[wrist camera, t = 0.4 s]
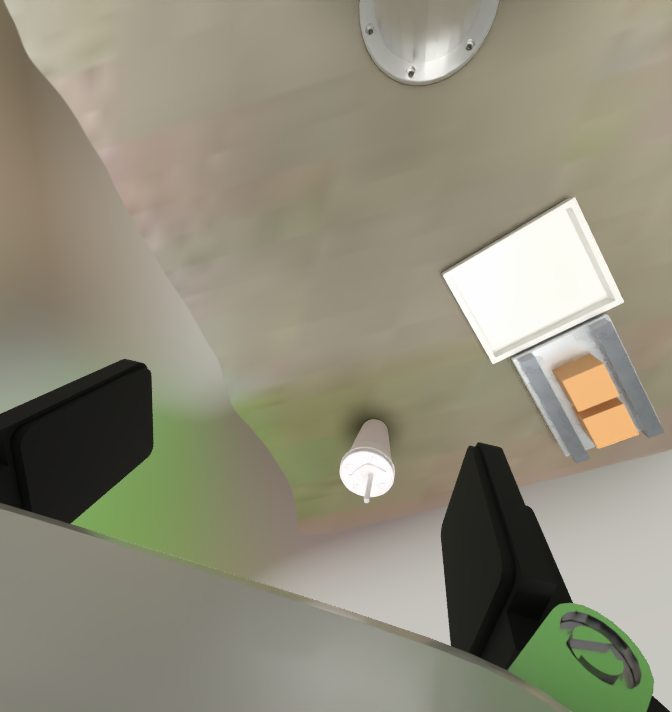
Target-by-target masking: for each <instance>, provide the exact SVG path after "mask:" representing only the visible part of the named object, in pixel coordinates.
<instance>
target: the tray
mask: <svg viewBox="0 0 672 712" xmlns="http://www.w3.org/2000/svg"><path fill="white" fill-rule="evenodd" d="M441 274H442V275H443V277H444V279H445V281H446V282H447V284H448V286H449V288H450V289H451V291H452V293H453V295H454V296H455V298H456V300H457V302H458V303H459V305H460V307H461V309H462V311H463V312H464V314H465V316H466V318H467V319H468V321H469V323H470V325H471V326H472V328H473V330H474V332H475V333H476V335H477V337H478V339H479V340H480V342H481V344H482V346H483V348H484V349H485V351H486V353H487V355H488V356H489V358H490V360H491V362H492V363H493V364H495V363H497V362H499V361H501V360H503V359H505V358H507V357H509V356H511V355H514V354H516V353H518V352H520V351H522V350H524V349H526V348H528V347H531V346H533V345H535V344H537V343H539V342H541V341H543V340H545V339H547V338H550V337H552V336H554V335H556V334H558V333H560V332H562V331H564V330H566V329H569V328H571V327H573V326H575V325H577V324H579V323H581V322H583V321H586V320H588V319H590V318H592V317H594V316H596V315H598V314H600V313H602V312H605V311H607V310H609V309H611V308H613V307H615V306H617V305H619V304H621V303H624V301H623V299H622V297H621V294H620V292H619V290H618V288H617V286H616V284H615V282H614V280H613V277H612V275H611V273H610V271H609V269H608V267H607V265H606V263H605V260H604V258H603V256H602V254H601V252H600V250H599V248H598V246H597V243H596V241H595V239H594V237H593V235H592V233H591V231H590V228H589V226H588V224H587V222H586V220H585V218H584V216H583V214H582V211H581V209H580V207H579V205H578V203H577V201H576V199H575V197H574V198H568V199H566V200H564V201H562V202H560V203H559V204H557V205H555V206H554V207H552V208H550V209H549V210H547V211H545V212H544V213H542V214H540V215H539V216H537V217H535V218H533V219H532V220H530V221H528V222H527V223H525V224H523V225H522V226H520V227H518V228H517V229H515V230H513V231H511V232H510V233H508V234H506V235H505V236H503V237H501V238H500V239H498V240H496V241H495V242H493V243H491V244H489V245H488V246H486V247H484V248H483V249H481V250H479V251H478V252H476V253H474V254H473V255H471V256H469V257H468V258H466V259H464V260H462V261H461V262H459V263H457V264H456V265H454V266H452V267H451V268H449V269H447V270H446V271H444V272H442V273H441Z"/></svg>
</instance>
